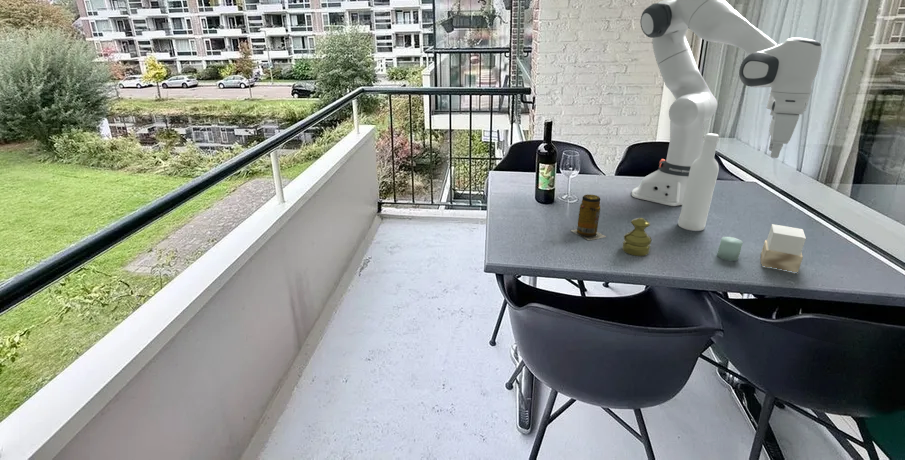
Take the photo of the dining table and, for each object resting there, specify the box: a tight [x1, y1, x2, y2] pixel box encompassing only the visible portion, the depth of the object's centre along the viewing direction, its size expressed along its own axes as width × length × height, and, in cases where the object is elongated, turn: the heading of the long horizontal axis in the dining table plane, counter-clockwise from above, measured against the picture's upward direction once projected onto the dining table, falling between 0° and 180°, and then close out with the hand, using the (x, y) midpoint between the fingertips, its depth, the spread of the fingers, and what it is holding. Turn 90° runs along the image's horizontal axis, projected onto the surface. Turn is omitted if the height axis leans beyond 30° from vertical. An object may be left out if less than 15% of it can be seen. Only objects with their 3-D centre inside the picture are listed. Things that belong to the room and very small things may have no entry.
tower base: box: [760, 239, 804, 273], centre depth 124 cm, size 8×8×5 cm
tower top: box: [766, 223, 807, 256], centre depth 122 cm, size 7×7×5 cm
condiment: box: [569, 194, 607, 241], centre depth 140 cm, size 7×8×12 cm
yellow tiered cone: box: [621, 217, 653, 257], centre depth 129 cm, size 7×7×10 cm
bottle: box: [677, 132, 720, 232], centre depth 143 cm, size 8×8×30 cm
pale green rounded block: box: [716, 236, 744, 262], centre depth 128 cm, size 5×5×5 cm
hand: (773, 153), depth 128 cm, fingers open, 8 cm apart
